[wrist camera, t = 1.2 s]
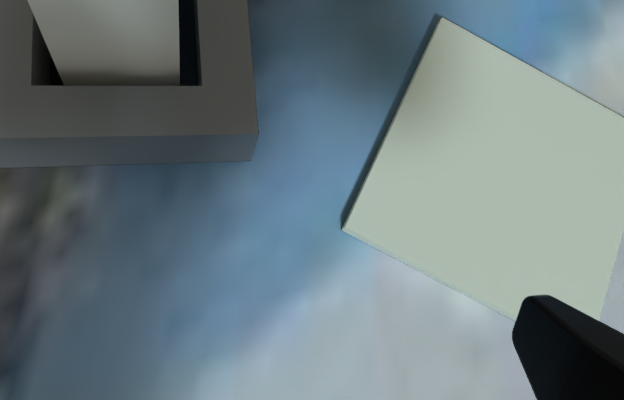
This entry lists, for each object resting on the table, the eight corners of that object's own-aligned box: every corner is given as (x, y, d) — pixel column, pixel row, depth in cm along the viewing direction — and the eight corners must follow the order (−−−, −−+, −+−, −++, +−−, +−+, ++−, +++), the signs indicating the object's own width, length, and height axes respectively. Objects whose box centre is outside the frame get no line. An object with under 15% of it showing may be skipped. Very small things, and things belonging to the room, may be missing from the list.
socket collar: (250, 161, 24) (258, 134, 22) (-7, 168, 22) (-35, 138, 19) (234, -38, 27) (240, -85, 24) (3, -50, 25) (-21, -104, 22)
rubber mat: (580, 355, 25) (589, 354, 25) (341, 230, 24) (344, 227, 24) (640, 136, 29) (649, 132, 29) (437, 24, 29) (442, 17, 28)
